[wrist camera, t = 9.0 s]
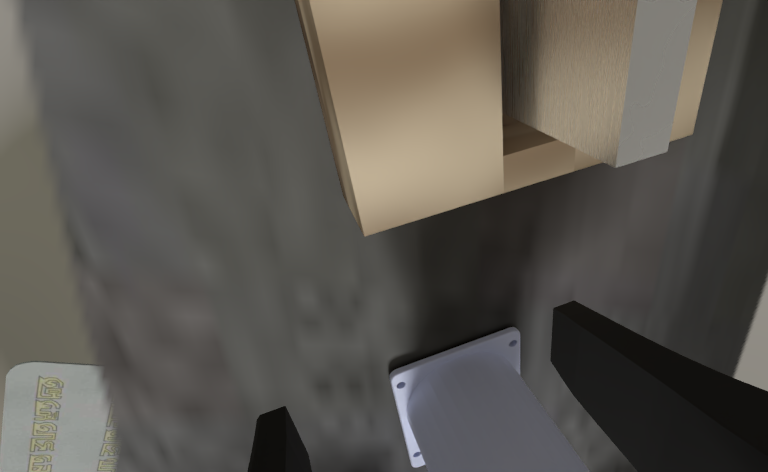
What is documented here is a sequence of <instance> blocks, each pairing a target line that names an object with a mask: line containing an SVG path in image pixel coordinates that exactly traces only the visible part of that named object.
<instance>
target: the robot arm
mask: <svg viewBox="0 0 768 472" xmlns="http://www.w3.org/2000/svg"><path fill="white" fill-rule="evenodd" d="M551 362H552V364H553V365H554V367H555V368H556V370H557V371H558V373H559V374H560V376H561V378H562V379H563V381H564V382H565V384H566V385H567V386H568V388H569V389H570V391H571V392H572V394H573V395H574V396H575V398H576V399H577V400H578V401H579V402H580V404H581V405H582V406H583V407H584V408H585V410H586V411H587V412H588V413H589V414H590V416H591V417H592V418H593V419H594V420H595V422H596V423H597V424H598V425H599V426H600V427H601V429H602V430H603V431H604V432H605V433H606V435H607V436H608V437H609V438H610V439H611V440H612V442H613V443H614V444H615V445H616V446H617V447H618V449H619V450H620V451H621V452H622V453H623V455H624V456H625V457H626V458H627V459H628V460H629V462H630V463H631V464H632V465H633V466H634V468H635V469H636V470H637V471H638V472H768V391H765V390H762V389H760V388H757V387H755V386H752V385H750V384H747V383H744V382H742V381H739V380H737V379H734V378H732V377H730V376H727V375H725V374H722V373H720V372H718V371H715V370H713V369H711V368H709V367H706V366H704V365H702V364H700V363H697V362H695V361H693V360H691V359H688V358H686V357H684V356H682V355H680V354H678V353H676V352H674V351H671V350H669V349H667V348H665V347H663V346H661V345H659V344H657V343H655V342H653V341H651V340H649V339H647V338H645V337H643V336H641V335H639V334H637V333H635V332H633V331H631V330H629V329H627V328H626V327H624V326H622V325H620V324H618V323H616V322H614V321H612V320H610V319H608V318H606V317H605V316H603V315H601V314H599V313H597V312H595V311H593V310H591V309H589V308H587V307H585V306H584V305H582V304H580V303H578V302H576V301H572V302H569V303H566V304H563V305H561V306H558V307H555V308H554V309H553V327H552V345H551ZM389 378H390V382H391V386H392V390H393V394H394V398H395V402H396V407H397V411H398V415H399V419H400V423H401V427H402V431H403V435H404V439H405V443H406V447H407V451H408V455H409V459H410V462H411V465H412V466H413V467H420V466H423V465H426V467H427V470H428V472H590V471H589V469H588V468H587V467H586V465H585V464H584V463H583V461H582V460H581V458H580V457H579V456H578V454H577V453H576V452H575V450H574V449H573V448H572V446H571V445H570V443H569V442H568V441H567V439H566V438H565V437H564V435H563V434H562V432H561V431H560V430H559V428H558V427H557V426H556V424H555V423H554V422H553V420H552V419H551V417H550V416H549V415H548V413H547V412H546V411H545V409H544V408H543V407H542V405H541V404H540V402H539V401H538V400H537V398H536V397H535V396H534V394H533V393H532V391H531V390H530V389H529V387H528V386H527V385H526V383H525V382H524V381H523V379H522V378H521V376H520V332H519V331H518V329H517V328H515V327H510V328H507V329H504V330H501V331H499V332H496V333H493V334H490V335H488V336H485V337H482V338H479V339H477V340H474V341H471V342H468V343H466V344H463V345H460V346H458V347H455V348H452V349H449V350H447V351H444V352H441V353H438V354H436V355H433V356H430V357H428V358H425V359H422V360H419V361H417V362H414V363H411V364H408V365H406V366H403V367H400V368H397V369H395V370H393V371H392V372H391V374H390V375H389ZM248 472H312V470H311V465H310V460H309V456H308V453H307V451H306V448H305V446H304V444H303V442H302V440H301V438H300V436H299V434H298V432H297V429H296V427H295V425H294V423H293V421H292V419H291V417H290V415H289V412H288V410H287V408H286V406H284V407H281V408H278V409H276V410H273V411H270V412H267V413H265V414H262V415H260V416H259V418H258V419H257V423H256V430H255V436H254V442H253V448H252V453H251V458H250V463H249V467H248Z"/></svg>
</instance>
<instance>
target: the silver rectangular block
mask: <svg viewBox="0 0 768 472" xmlns="http://www.w3.org/2000/svg"><path fill="white" fill-rule="evenodd" d="M696 5H697V0H500V39H501V84H502V113H504V114H506V115H508V116H510V117H512V118H514V119H516V120H518V121H520V122H522V123H524V124H526V125H529V126H531V127H533V128H535V129H537V130H539V131H541V132H543V133H545V134H547V135H549V136H551V137H553V138H555V139H557V140H559V141H561V142H563V143H566V144H568V145H570V146H572V147H574V148H576V149H578V150H580V151H582V152H584V153H586V154H588V155H590V156H592V157H594V158H596V159H598V160H600V161H602V162H605V163H607V164H609V165H611V166H613V167H615V168H617V167H620V166H623V165H626V164H629V163H633V162H636V161H639V160H642V159H645V158H649V157H652V156H655V155H658V154H661V153H665V152H667V151H668V146H669V141H670V135H671V130H672V125H673V120H674V115H675V110H676V105H677V100H678V95H679V90H680V85H681V80H682V75H683V70H684V65H685V60H686V55H687V50H688V45H689V40H690V35H691V30H692V25H693V20H694V15H695V10H696Z"/></svg>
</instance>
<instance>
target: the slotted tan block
mask: <svg viewBox="0 0 768 472" xmlns="http://www.w3.org/2000/svg"><path fill="white" fill-rule="evenodd" d="M722 2H723V0H697V5H696V10H695V15H694V20H693V25H692V30H691V35H690V40H689V45H688V50H687V55H686V60H685V65H684V70H683V75H682V80H681V85H680V90H679V95H678V100H677V105H676V110H675V115H674V120H673V125H672V130H671V135H670V141H673V140H676V139H679V138H683V137H686V136H689V135H692V134H693V130H694V126H695V121H696V117H697V113H698V108H699V104H700V99H701V95H702V90H703V86H704V81H705V77H706V73H707V68H708V64H709V59H710V55H711V50H712V46H713V41H714V37H715V33H716V28H717V24H718V19H719V15H720V10H721V6H722ZM295 4H296V8H297V12H298V16H299V20H300V24H301V28H302V32H303V36H304V40H305V44H306V48H307V52H308V56H309V60H310V64H311V68H312V72H313V76H314V80H315V84H316V88H317V92H318V96H319V100H320V104H321V108H322V112H323V116H324V120H325V124H326V128H327V132H328V136H329V140H330V144H331V148H332V152H333V156H334V160H335V164H336V168H337V172H338V176H339V180H340V184H341V188H342V192H343V196H344V198H345V200H346V202H347V204H348V206H349V208H350V210H351V212H352V214H353V215H354V217H355V219H356V221H357V223H358V225H359V227H360V229H361V231H362V233H363V235H364V237H365V236H368V235H371V234H374V233H378V232H381V231H384V230H387V229H390V228H394V227H397V226H400V225H403V224H406V223H410V222H413V221H416V220H419V219H423V218H426V217H429V216H432V215H435V214H439V213H442V212H445V211H448V210H451V209H455V208H458V207H461V206H464V205H467V204H471V203H474V202H477V201H480V200H484V199H487V198H490V197H493V196H496V195H500V194H503V193H506V192H509V191H512V190H516V189H519V188H522V187H525V186H529V185H532V184H535V183H538V182H541V181H545V180H548V179H551V178H554V177H557V176H561V175H564V174H567V173H570V172H573V171H577V170H580V169H583V168H586V167H590V166H593V165H596V164H599V163H602V161H600V160H598V159H596V158H594V157H592V156H590V155H588V154H586V153H584V152H582V151H580V150H578V149H576V148H574V147H572V146H570V145H568V144H566V143H563V142H561V141H559V140H557V139H555V138H553V137H551V136H549V135H547V134H545V133H543V132H541V131H539V130H537V129H535V128H533V127H531V126H529V125H526V124H524V123H522V122H520V121H518V120H516V119H514V118H512V117H510V116H508V115H506V114H504V113H502V84H501V39H500V0H295ZM670 141H669V142H670Z"/></svg>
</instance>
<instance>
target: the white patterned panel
mask: <svg viewBox="0 0 768 472" xmlns="http://www.w3.org/2000/svg"><path fill="white" fill-rule="evenodd" d="M114 466H115V450H114V446H113V428H112V425H111V423H110V417H109V408H108V405H107V404H106V400H105V391H104V388H103V386H102V384H101V381H100V375H99V371H98V369H97V367H96V365H95V364H81V363H65V362H49V361H28V362H23V363H19V364H16V365H15V366H14V367H12V368H11V369H10V371H9V372H8V373H7V375H6V384H5V397H4V409H3V420H2V433H1V446H0V472H114Z"/></svg>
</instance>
